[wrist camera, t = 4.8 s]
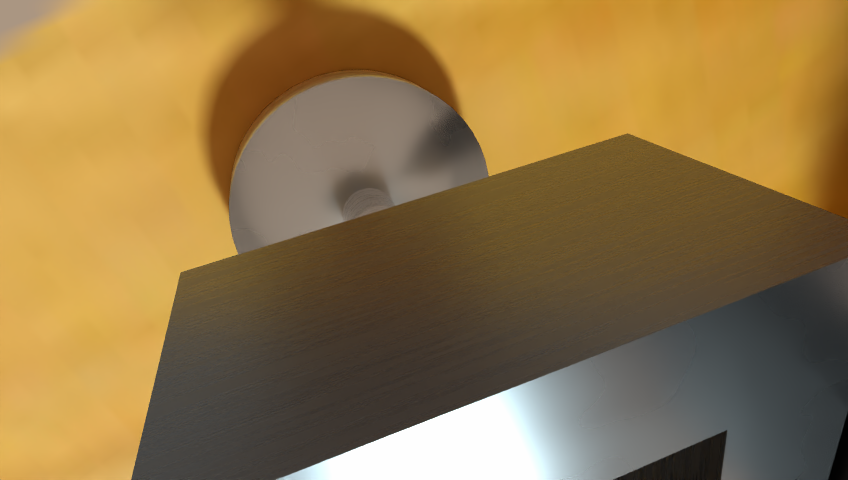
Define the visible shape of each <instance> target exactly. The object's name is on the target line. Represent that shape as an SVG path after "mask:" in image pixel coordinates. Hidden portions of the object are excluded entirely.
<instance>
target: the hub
mask: <svg viewBox="0 0 848 480" xmlns="http://www.w3.org/2000/svg"><path fill="white" fill-rule="evenodd" d="M486 177H489V176H488V171H487V166H486V162H485V158H484V156H483V153H482V150H481V147H480V145H479V143H478V141H477V139H476V138H475V136H474V134H473V132H472V131H471V129H470V128H469V127H468V125H467V124H466V122H465V121H464V120H463V119H462V118H461V117H460V116H459V115H458V114H457V112H456V111H455V110H454V109H453V108H452V107H450V106H449V105H448V104H446V103H445V102H444V101H442V100H441V99H440V98H438V97H437V96H435V95H433V94H432V93H430V92H428V91H426V90H425V89H423V88H421V87H419V86H418V85H416V84H414V83H412V82H410V81H408V80H406V79H403V78H401V77H398V76H395V75H392V74H388V73H384V72H379V71H371V70H342V71H336V72H331V73H326V74H323V75H320V76H317V77H314V78H311V79H308V80H306V81H304V82H302V83H300V84H298V85H296V86H294V87H292V88H290V89H289V90H287V91H286V92H284V93H283V94H281V95H280V96H279V97H277V98H276V99H275V100H274V101H273V102H272V103H270V104H269V105H268V106H267V107H266V108H265V109H264V110H263V111H262V112H261V114H260V115H259V116H258V117H257V118H256V120H255V121H254V122H253V123H252V125H251V126H250V128H249V130H248V131H247V133H246V135H245V136H244V138H243V140H242V142H241V145H240V147H239V149H238V152H237V154H236V158H235V162H234V165H233V169H232V177H231V185H230V198H229V219H230V226H231V232H232V237H233V240H234V243H235V246H236V249H237V252H238V254H242V253H245V252H248V251H252V250H255V249H258V248H261V247H265V246H268V245H271V244H274V243H277V242H281V241H284V240H287V239H290V238H293V237H297V236H300V235H303V234H306V233H310V232H313V231H316V230H319V229H322V228H326V227H329V226H332V225H335V224H338V223H342V222H345V221H348V220H351V219H355V218H358V217H361V216H364V215H367V214H371V213H374V212H377V211H380V210H383V209H387V208H390V207H393V206H396V205H400V204H403V203H406V202H409V201H412V200H416V199H419V198H422V197H425V196H428V195H432V194H435V193H438V192H441V191H445V190H448V189H451V188H454V187H457V186H461V185H464V184H467V183H470V182H473V181H477V180H480V179H483V178H486Z"/></svg>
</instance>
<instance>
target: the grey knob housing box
mask: <svg viewBox="0 0 848 480" xmlns="http://www.w3.org/2000/svg"><path fill="white" fill-rule="evenodd" d="M847 412H848V219H846V218H844V217H841V216H839V215H836V214H833V213H831V212H828V211H826V210H823V209H821V208H818V207H815V206H813V205H810V204H808V203H805V202H803V201H800V200H797V199H795V198H792V197H790V196H787V195H785V194H782V193H779V192H777V191H774V190H772V189H769V188H767V187H764V186H761V185H759V184H756V183H754V182H751V181H748V180H746V179H743V178H741V177H738V176H736V175H733V174H730V173H728V172H725V171H723V170H720V169H718V168H715V167H712V166H710V165H707V164H705V163H702V162H700V161H697V160H694V159H692V158H689V157H687V156H684V155H682V154H679V153H676V152H674V151H671V150H669V149H666V148H664V147H661V146H658V145H656V144H653V143H651V142H648V141H646V140H643V139H640V138H638V137H635V136H633V135H630V134H624V135H621V136H618V137H615V138H612V139H608V140H605V141H602V142H599V143H596V144H592V145H589V146H586V147H583V148H579V149H576V150H573V151H570V152H567V153H563V154H560V155H557V156H554V157H551V158H547V159H544V160H541V161H538V162H534V163H531V164H528V165H525V166H522V167H518V168H515V169H512V170H509V171H506V172H502V173H499V174H496V175H493V176H489V177H486V178H483V179H480V180H477V181H473V182H470V183H467V184H464V185H461V186H457V187H454V188H451V189H448V190H445V191H441V192H438V193H435V194H432V195H428V196H425V197H422V198H419V199H416V200H412V201H409V202H406V203H403V204H400V205H396V206H393V207H390V208H387V209H383V210H380V211H377V212H374V213H371V214H367V215H364V216H361V217H358V218H355V219H351V220H348V221H345V222H342V223H338V224H335V225H332V226H329V227H326V228H322V229H319V230H316V231H313V232H310V233H306V234H303V235H300V236H297V237H293V238H290V239H287V240H284V241H281V242H277V243H274V244H271V245H268V246H265V247H261V248H258V249H255V250H252V251H248V252H245V253H242V254H239V255H236V256H232V257H229V258H226V259H223V260H220V261H216V262H213V263H210V264H207V265H203V266H200V267H197V268H194V269H191V270H187V271H184V272H181V274H180V278H179V282H178V286H177V290H176V295H175V299H174V303H173V307H172V311H171V316H170V320H169V324H168V328H167V332H166V336H165V341H164V345H163V349H162V353H161V357H160V362H159V366H158V370H157V374H156V378H155V383H154V387H153V391H152V395H151V399H150V403H149V408H148V412H147V416H146V420H145V424H144V429H143V433H142V437H141V441H140V445H139V449H138V454H137V458H136V462H135V466H134V470H133V475H132V479H131V480H828V478H829V475H830V471H831V468H832V464H833V461H834V457H835V454H836V451H837V447H838V444H839V440H840V437H841V433H842V430H843V426H844V423H845V419H846V416H847Z"/></svg>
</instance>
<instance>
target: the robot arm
mask: <svg viewBox="0 0 848 480" xmlns="http://www.w3.org/2000/svg"><path fill="white" fill-rule="evenodd" d="M828 480H848V412H847V416H846V419H845V423H844V426H843V430H842V433H841V437H840V440H839V444H838V447H837V451H836V454H835V457H834V461H833V464H832V468H831V471H830V475H829V478H828Z"/></svg>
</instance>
